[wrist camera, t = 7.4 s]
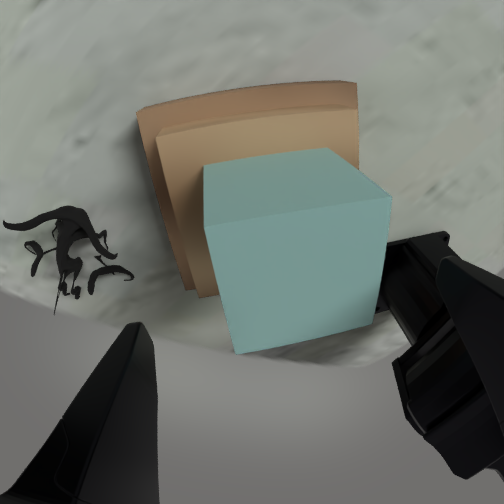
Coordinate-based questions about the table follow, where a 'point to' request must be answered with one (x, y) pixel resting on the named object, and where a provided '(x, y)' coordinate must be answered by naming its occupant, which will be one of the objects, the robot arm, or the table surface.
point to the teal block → (294, 245)
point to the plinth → (219, 106)
